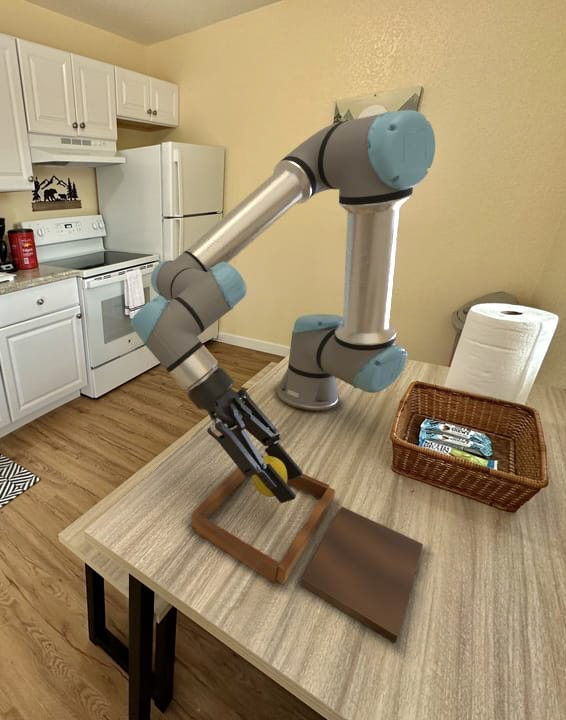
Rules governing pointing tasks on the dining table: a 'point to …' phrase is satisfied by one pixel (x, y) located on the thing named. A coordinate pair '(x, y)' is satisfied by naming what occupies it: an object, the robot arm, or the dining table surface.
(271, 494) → the lemon
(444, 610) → the dining table surface
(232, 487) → the wooden frame
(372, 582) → the cutting board
